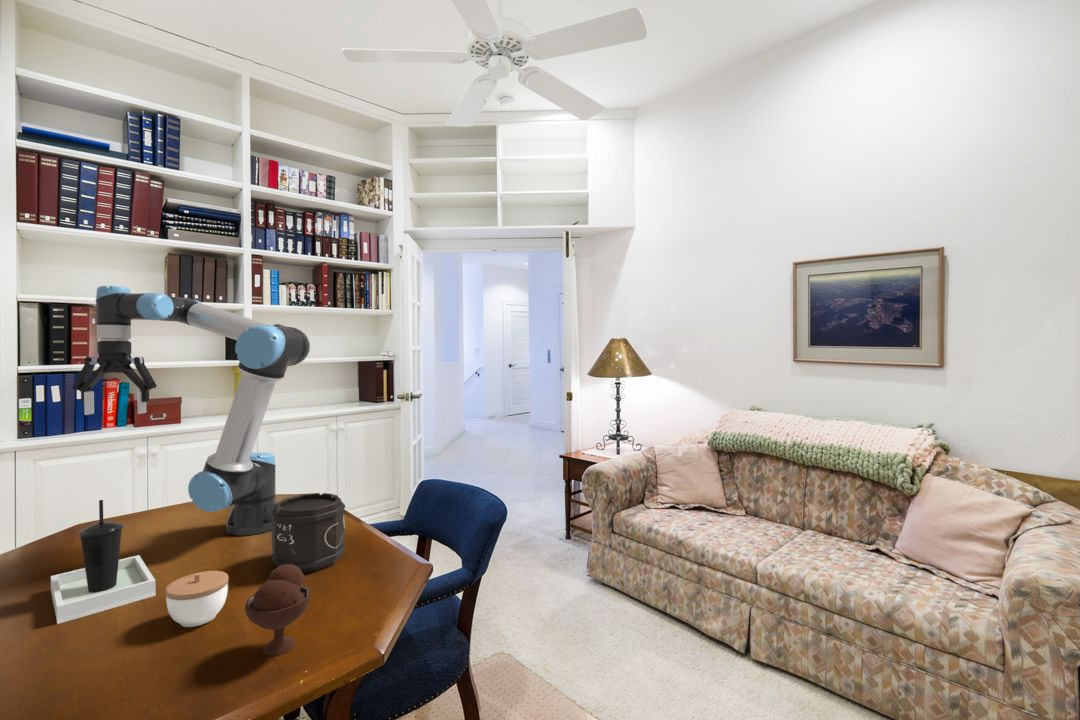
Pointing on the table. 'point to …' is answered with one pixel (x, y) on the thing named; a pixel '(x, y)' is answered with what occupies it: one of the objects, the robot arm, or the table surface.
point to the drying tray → (80, 602)
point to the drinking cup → (101, 552)
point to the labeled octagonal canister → (308, 531)
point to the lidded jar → (197, 597)
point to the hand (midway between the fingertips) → (115, 413)
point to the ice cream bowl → (279, 606)
